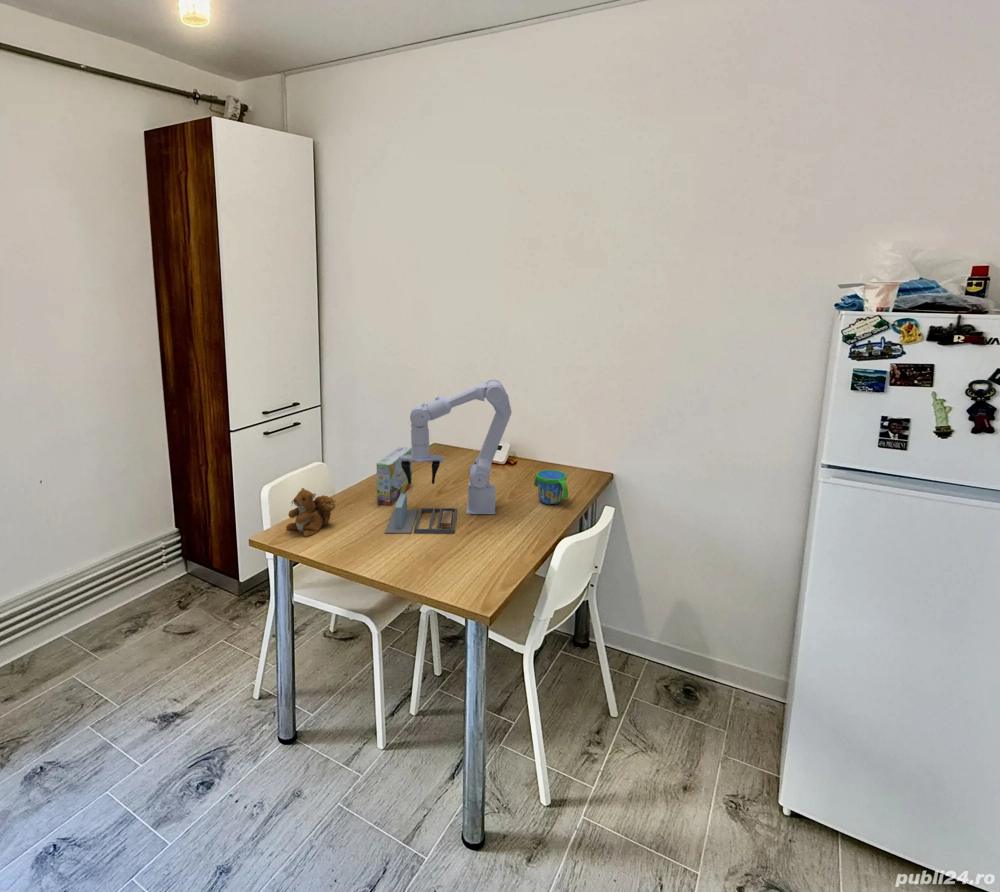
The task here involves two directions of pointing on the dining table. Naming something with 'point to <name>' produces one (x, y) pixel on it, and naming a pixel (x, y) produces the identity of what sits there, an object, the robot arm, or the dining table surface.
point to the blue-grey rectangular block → (401, 510)
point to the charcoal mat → (406, 527)
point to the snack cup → (551, 486)
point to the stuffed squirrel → (310, 512)
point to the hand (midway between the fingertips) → (421, 482)
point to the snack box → (392, 477)
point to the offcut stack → (446, 520)
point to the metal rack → (430, 530)
